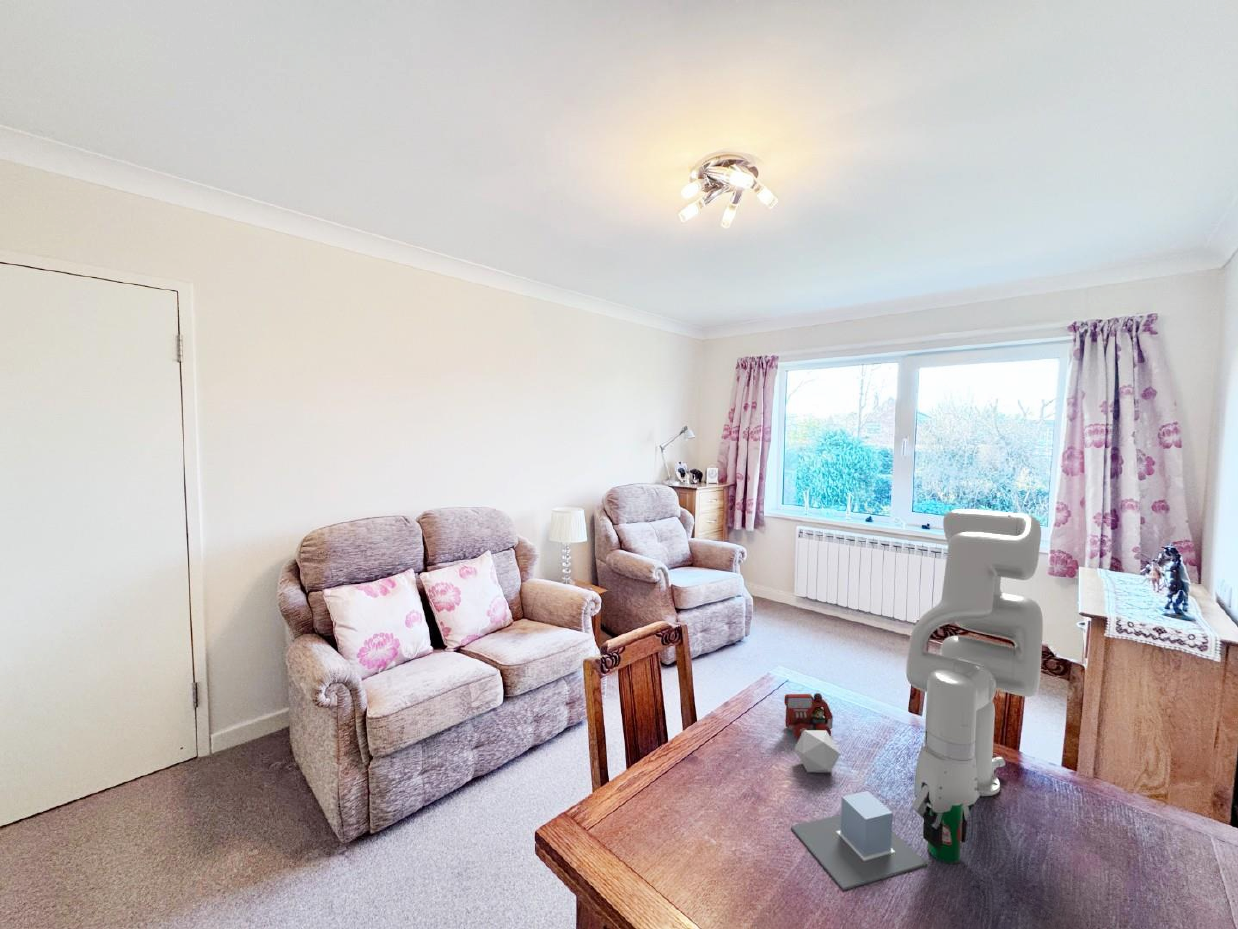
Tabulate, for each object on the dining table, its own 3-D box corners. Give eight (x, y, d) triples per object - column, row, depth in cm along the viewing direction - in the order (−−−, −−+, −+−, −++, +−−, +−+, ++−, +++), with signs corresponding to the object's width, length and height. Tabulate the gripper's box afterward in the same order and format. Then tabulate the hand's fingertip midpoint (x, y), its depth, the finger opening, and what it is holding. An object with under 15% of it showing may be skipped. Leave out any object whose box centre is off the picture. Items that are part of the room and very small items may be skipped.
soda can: (920, 848, 94) (923, 785, 93) (939, 840, 96) (942, 778, 95) (948, 869, 89) (951, 803, 88) (966, 860, 91) (970, 795, 90)
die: (833, 790, 110) (852, 746, 113) (796, 765, 111) (815, 722, 114) (818, 779, 118) (836, 738, 121) (783, 756, 119) (802, 716, 122)
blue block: (866, 826, 98) (867, 790, 98) (891, 850, 92) (892, 812, 92) (840, 832, 96) (841, 796, 96) (864, 857, 91) (865, 819, 90)
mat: (866, 809, 103) (866, 807, 103) (927, 865, 90) (927, 862, 90) (791, 828, 98) (791, 826, 98) (843, 890, 84) (843, 887, 84)
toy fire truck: (838, 742, 127) (839, 701, 126) (789, 743, 126) (791, 702, 125) (825, 726, 134) (826, 687, 133) (779, 727, 133) (780, 688, 132)
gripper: (964, 724, 97) (960, 816, 98) (894, 738, 92) (890, 835, 93) (1005, 747, 90) (999, 845, 91) (930, 764, 85) (925, 868, 86)
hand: (944, 839), depth 92 cm, fingers closed on soda can, 5 cm apart
